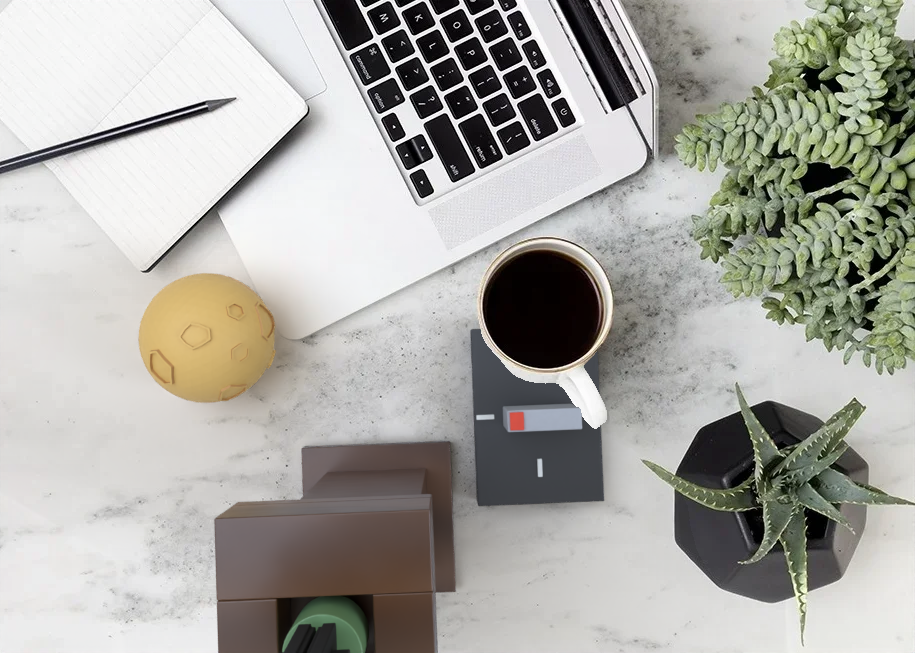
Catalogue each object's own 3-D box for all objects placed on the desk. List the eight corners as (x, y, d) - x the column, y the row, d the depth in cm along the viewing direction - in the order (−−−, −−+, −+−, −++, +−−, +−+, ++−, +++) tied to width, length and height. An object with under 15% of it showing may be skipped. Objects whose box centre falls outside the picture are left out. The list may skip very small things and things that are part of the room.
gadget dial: (571, 403, 62) (582, 407, 57) (572, 423, 62) (583, 429, 57) (502, 406, 62) (507, 410, 57) (503, 426, 62) (508, 432, 57)
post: (455, 587, 64) (460, 729, 40) (308, 594, 64) (224, 740, 40) (450, 440, 64) (451, 492, 40) (303, 446, 64) (217, 502, 40)
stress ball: (144, 361, 64) (88, 363, 54) (204, 257, 64) (160, 240, 54) (249, 421, 64) (213, 434, 54) (309, 317, 64) (284, 310, 54)
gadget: (598, 495, 64) (604, 501, 62) (476, 500, 64) (478, 506, 61) (590, 325, 65) (596, 324, 62) (470, 330, 65) (471, 329, 62)
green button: (370, 668, 38) (364, 694, 35) (295, 671, 38) (282, 698, 35) (368, 592, 38) (361, 612, 35) (293, 595, 38) (280, 616, 35)
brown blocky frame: (440, 730, 40) (440, 772, 36) (244, 739, 40) (221, 782, 36) (432, 493, 40) (430, 509, 36) (237, 501, 40) (213, 518, 36)
